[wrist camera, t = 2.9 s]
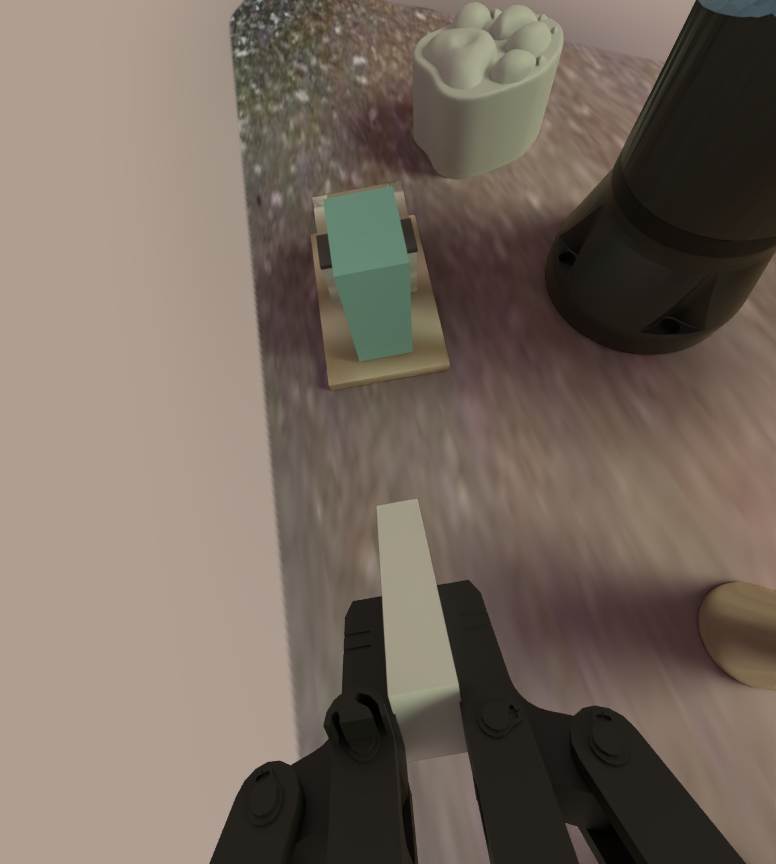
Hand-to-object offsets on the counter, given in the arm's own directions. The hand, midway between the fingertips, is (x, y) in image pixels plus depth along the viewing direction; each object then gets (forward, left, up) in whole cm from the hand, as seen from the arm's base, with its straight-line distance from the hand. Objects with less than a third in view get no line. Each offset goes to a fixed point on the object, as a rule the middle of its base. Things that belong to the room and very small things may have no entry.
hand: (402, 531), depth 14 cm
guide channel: (-13, -17, -14) cm, 26 cm away
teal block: (-11, -14, -13) cm, 22 cm away
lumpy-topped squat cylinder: (-35, -24, -15) cm, 45 cm away
